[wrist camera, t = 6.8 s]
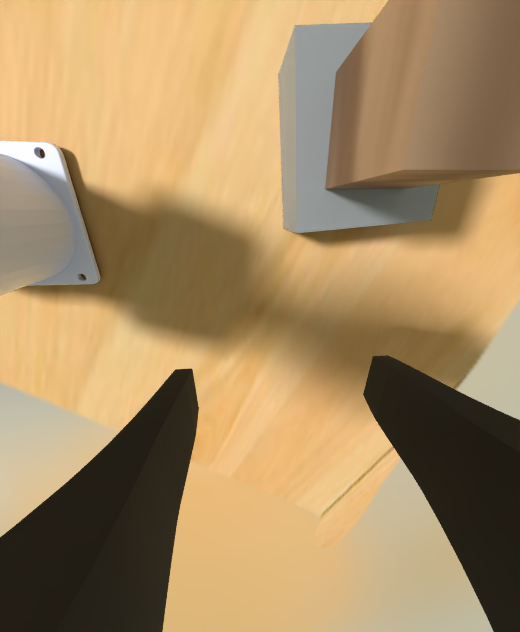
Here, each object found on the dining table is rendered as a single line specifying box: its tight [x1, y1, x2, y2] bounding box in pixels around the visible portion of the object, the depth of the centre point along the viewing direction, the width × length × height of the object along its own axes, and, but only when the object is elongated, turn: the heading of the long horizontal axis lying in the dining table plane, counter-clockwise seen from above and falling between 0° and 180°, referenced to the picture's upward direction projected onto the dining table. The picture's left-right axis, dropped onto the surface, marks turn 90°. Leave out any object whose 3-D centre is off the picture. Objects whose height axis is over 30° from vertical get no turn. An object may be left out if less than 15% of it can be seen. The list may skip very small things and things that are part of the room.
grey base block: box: [278, 23, 440, 233], centre depth 13 cm, size 8×8×4 cm
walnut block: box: [325, 0, 520, 189], centre depth 8 cm, size 4×4×6 cm
